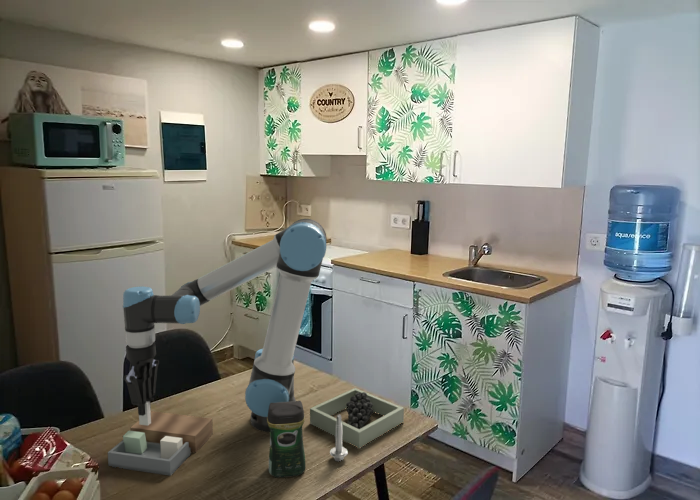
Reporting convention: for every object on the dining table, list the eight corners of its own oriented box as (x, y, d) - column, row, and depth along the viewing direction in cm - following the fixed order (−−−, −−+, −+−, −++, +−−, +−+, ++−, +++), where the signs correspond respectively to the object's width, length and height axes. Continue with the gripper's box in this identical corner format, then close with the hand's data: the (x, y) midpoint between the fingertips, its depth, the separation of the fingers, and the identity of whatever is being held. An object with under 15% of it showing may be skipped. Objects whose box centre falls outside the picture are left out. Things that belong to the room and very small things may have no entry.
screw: (345, 453, 142) (349, 462, 137) (328, 454, 141) (331, 464, 136) (346, 409, 140) (349, 417, 135) (328, 410, 139) (331, 419, 134)
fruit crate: (403, 422, 159) (403, 407, 158) (359, 449, 144) (359, 432, 143) (354, 401, 172) (355, 387, 171) (310, 423, 158) (309, 408, 157)
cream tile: (182, 438, 138) (177, 442, 135) (183, 455, 139) (178, 460, 136) (165, 435, 139) (160, 440, 136) (166, 452, 140) (161, 457, 137)
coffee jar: (304, 459, 138) (303, 395, 135) (306, 477, 131) (306, 409, 128) (268, 462, 137) (266, 397, 134) (268, 480, 129) (266, 412, 126)
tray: (190, 454, 140) (190, 440, 140) (170, 475, 131) (170, 461, 130) (132, 446, 144) (131, 433, 144) (108, 466, 135) (107, 452, 134)
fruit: (361, 408, 148) (370, 385, 163) (334, 414, 150) (345, 391, 165) (370, 435, 149) (378, 410, 164) (344, 440, 151) (354, 415, 166)
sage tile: (144, 432, 140) (139, 438, 137) (147, 447, 141) (142, 454, 139) (128, 430, 141) (122, 436, 138) (131, 445, 142) (125, 451, 140)
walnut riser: (212, 434, 151) (212, 418, 150) (195, 452, 141) (195, 436, 140) (151, 426, 155) (150, 411, 154) (131, 443, 145) (130, 427, 145)
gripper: (142, 334, 147) (147, 411, 151) (112, 350, 135) (118, 433, 139) (166, 336, 146) (170, 414, 150) (138, 353, 133) (143, 437, 137)
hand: (145, 423), depth 144 cm, fingers closed
